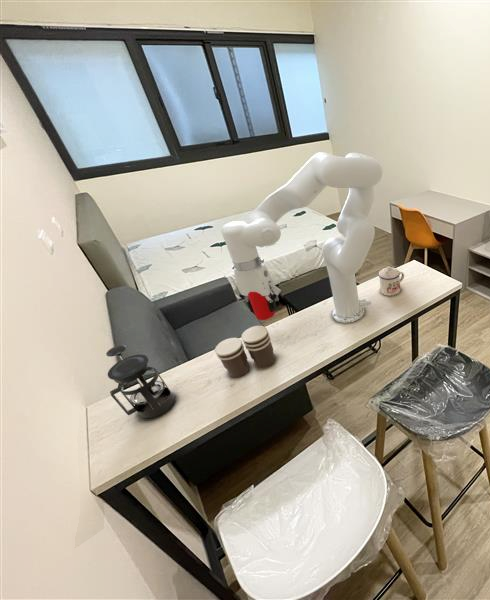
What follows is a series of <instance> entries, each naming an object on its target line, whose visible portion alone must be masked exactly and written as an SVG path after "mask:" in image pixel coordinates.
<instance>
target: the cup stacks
mask: <svg viewBox="0 0 490 600" xmlns="http://www.w3.org/2000/svg"><path fill="white" fill-rule="evenodd" d="M271 340H272V339H271V336H270V333H269V331H268V328H267V327H266V326H264V325H253V326H251V327H249V328H247V329H246V330H244V331H243V333H242V334H241V339H240V338H239V337H231V338H230V337H229V338H225V339H223V340H222V341H220V342H219V343H218V344H216V346H215V347H214V353H215V354H216V356H217V358H218V359H219V360H220V361H221V364H222V365H223V368H224V369H226V371H227V373H228V374H229V376H230V377H231V378H233V379H235V378H241V377H244V376H245V375H246V374H248V373H249V372H250V369H251V365H250V363H249V361H248V356H247V353H246V350H247V351H248V354H249V356H250V358H251V359H252V360H253V362H254V365H255V366H256V368H258V369H267V368H270V367H271V366H272V365H274V363H275V362H276V356H275V353H274V347H273V345H272V342H271ZM245 349H246V350H245Z"/></svg>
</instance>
